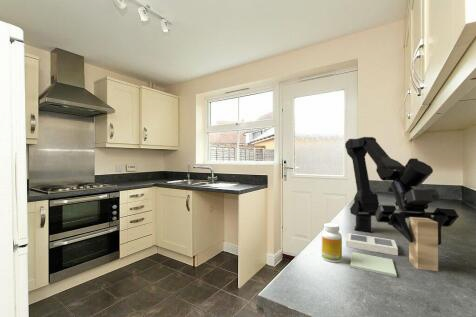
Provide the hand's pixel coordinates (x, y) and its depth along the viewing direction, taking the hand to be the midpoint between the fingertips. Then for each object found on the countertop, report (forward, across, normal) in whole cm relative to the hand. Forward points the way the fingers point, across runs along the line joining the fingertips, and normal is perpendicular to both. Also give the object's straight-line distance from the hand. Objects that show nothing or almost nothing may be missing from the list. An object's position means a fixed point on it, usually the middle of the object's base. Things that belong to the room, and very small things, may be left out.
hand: (425, 243), depth 59 cm
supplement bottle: (+5, -23, +4) cm, 24 cm away
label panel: (-5, -9, +14) cm, 18 cm away
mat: (+6, -13, +4) cm, 15 cm away
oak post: (+4, 0, +6) cm, 7 cm away
